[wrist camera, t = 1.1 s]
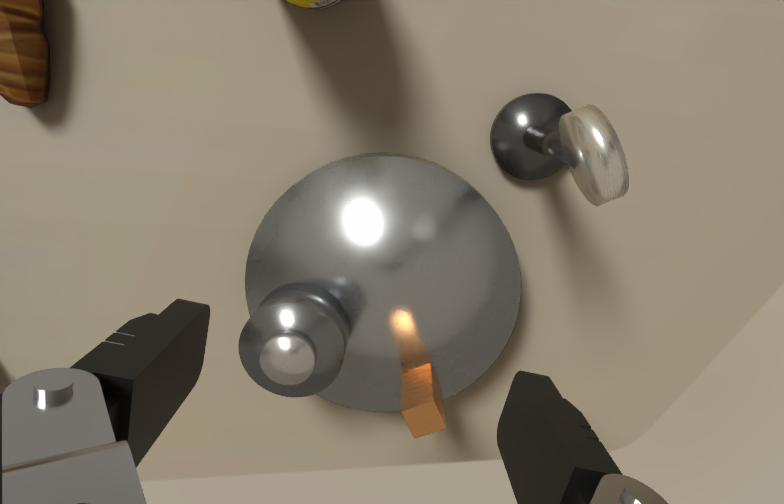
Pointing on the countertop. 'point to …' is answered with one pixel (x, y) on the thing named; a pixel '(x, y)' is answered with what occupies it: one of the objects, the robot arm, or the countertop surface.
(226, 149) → the countertop surface
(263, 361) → the cover
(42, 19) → the croissant
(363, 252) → the turntable
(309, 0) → the supplement bottle
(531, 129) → the dial stand
